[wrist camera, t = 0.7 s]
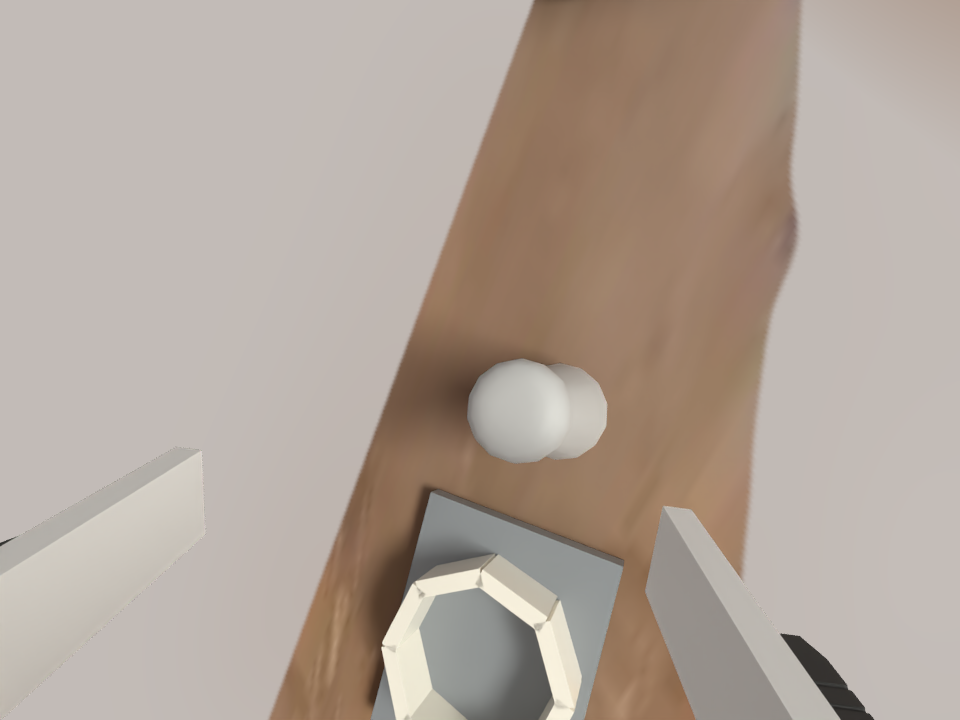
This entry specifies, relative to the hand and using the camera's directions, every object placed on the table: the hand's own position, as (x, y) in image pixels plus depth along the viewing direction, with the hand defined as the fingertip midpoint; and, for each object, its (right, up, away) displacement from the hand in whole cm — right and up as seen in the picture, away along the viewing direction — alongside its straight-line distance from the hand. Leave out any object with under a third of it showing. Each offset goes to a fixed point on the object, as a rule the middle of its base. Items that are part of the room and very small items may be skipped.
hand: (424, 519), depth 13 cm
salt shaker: (+7, +1, +17) cm, 19 cm away
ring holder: (+2, -14, +16) cm, 21 cm away
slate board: (+2, -14, +17) cm, 22 cm away
